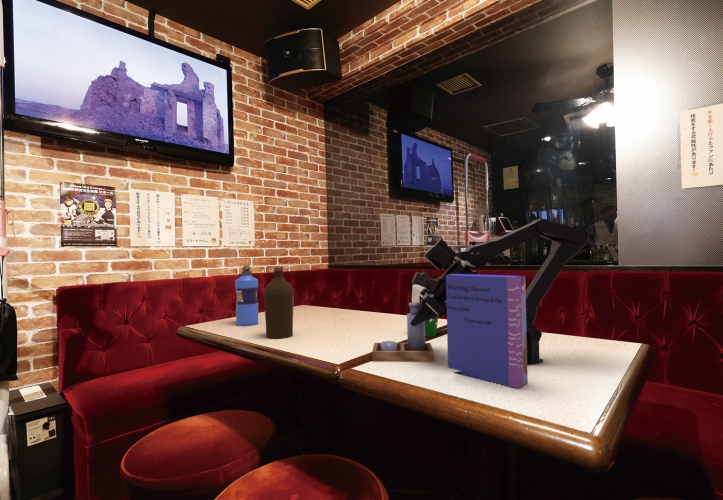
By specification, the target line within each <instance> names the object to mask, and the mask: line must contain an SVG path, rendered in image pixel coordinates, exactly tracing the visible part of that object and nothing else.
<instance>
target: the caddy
mask: <svg viewBox="0 0 723 500" xmlns="http://www.w3.org/2000/svg"><path fill="white" fill-rule="evenodd" d="M396 343H397V351H381V342H374V344H373V347H372V351H371V353H372V354H371V355H372V356H371V358H372V360H371V361H372V362H393V363H395V362H398V363H400V362H403V363H405V362H408V363H410V362H411V363H422V362H423V363H434V362H435V355H434V353H435V351H434V349H433V347H432V343H431V342H425V348H424V349H410V348H408V342H396Z"/></svg>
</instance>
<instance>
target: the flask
mask: <svg viewBox="0 0 723 500" xmlns="http://www.w3.org/2000/svg"><path fill="white" fill-rule="evenodd" d="M408 307H409V309H410V312H409V313H406V330H407V331H406V332H407V343H408V348H410V349H424V348H425V343H426V337H425V321H424V322H422V323H420V324H417V325H415V326H412V325H411V324H410V322H411V321H412V319H413V318H414V316H415V315H416V314H417V312H418V311H419V309H420V308H421V303H420V302H412V301H411V302H409V303H408Z"/></svg>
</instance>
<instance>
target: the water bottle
mask: <svg viewBox="0 0 723 500" xmlns="http://www.w3.org/2000/svg"><path fill="white" fill-rule="evenodd" d="M241 269H242V270H241V271H240V272H241V273H240V274H241V276H240V277H239V278H237V279H235V281H234V283H235V284H234V285H235V287H234V288H235V291H236V292H235V293H236V302H235V316H236V317H235V319H236V320H235V323H236V326H237V327H253V326H257V325H259V301H258V287H259V280H258V279H257V278H256V277H254V276H253V275H252V273H253V272H252V268H251V267H250V266H249V265H244V266H243V267H241Z"/></svg>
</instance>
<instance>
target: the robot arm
mask: <svg viewBox="0 0 723 500" xmlns="http://www.w3.org/2000/svg"><path fill="white" fill-rule="evenodd" d="M538 236H540V237H543V238H545V239H547V240H550V241H551V245H550V251H549V254H548V256H547V257H546V259H545V261H544V262H543V263H542V264H541V267H540V268H539V269H538V271H537V272H536V274H535V276H534V277H533V279H532V281H531V282H530V284H529V285H528V287H527V288H526V289H525V291H526V335H527V366H528V365H529V366H530V365H533V364H536V363H541V362H544V359H543V358H541V357H540V341H541V338H542V335H543V332H542V331H541V330H540V329H538V328H537V327H536V325H534V323H535V320H536V318H537V311H538V307H539V306H540V303H541V302H542V300H543V299H544V298H545V296H546V295H547V292H548V291H549V289H550V288H551V287H552V285H553V283H554V281H556V279H557V277H558V275H560V273H561V271H562V269H563V268H564V266H565V265H566V263H567V262H568V261H569V260H570V259H572V258H573V257H574V256H575V255H577V254H578V253H579V252H580V251H581V250H582V249H583V248H584V247H585V246H586V245H587V243H588V242H589V238H590V237H589V233H588V231H587V230H586V229H585V228H584V227H583V226H581V225H573V226H572V225H567V224H563V223H560V222H555V221H551V220H548V219H546V218H538V219H535V220H532V221H531V222H530V223H527V224H525V225H524V226H522V227H519V228H517V229H515V230H512V231H510V232H508V233H506V234H503V235H502V236H500V237H497V238H495V239H494V240H490V241H485V242H481V243H477V244H475V245H471V246H468V247H467V248H465V250H463V251H459V250H457V251H455V250H453V249H452V248H451V247H450V245H448V244H447V242H446V241H445V240H444V239H442V238H440V239H439V240H438V241H437V242H436V243H435V244H434V245H433V246H431V247H430V248H429V249H428V250H427V251H426V252H425V254H424V255H423V258H425V259H426V260H427V261H428V262H429V263H430V264H431V265H432V266H433V267H434V268H435V269H437V270H438V271H439V270H441V269H442V270H443V271H445V270H446V269H447V270H446V271H445V272H444V273H443V274H442V275H441V276H438V277H436V279H434V278H431V276H430V275H431V274H430V273H428V272H425V271H424V272H422V273H420V272H419V271H415V273H414V275H413V278H412V279H411V283H412V284H416V285H420V286H422V287H424V288H423V289H422V290H421V291H420V292H419V293H420V294H421V295H423V296H422V297H421V296H420V295H419V302H420V303H421V308H420V309H419V311H418V312H417V314H416V315H415V316H414V318H413V319H412V321H411V322H410V324H411V325H412V326H415V325H417V324H420V323H422V322H424V321H427V320H429V319H432V318H435V317H438V318H439V316H440V317H441V318H443V317H444V316H445V314H447V297H446V275H448V274H479V271H477V270H472V268H470V267H474V268H481V267H484V266H486V265H487V264H488V263H490V262H491V261H493V260H494V259H495V258H497V257H498V256H499V255H500V254H502V253H504V252H506V251H508V250H509V249H512V248H514V247H516V246H519V245H520V244H523V243H525V242H527V241H529V240H532V239H534V238H536V237H538ZM459 261H463V262H465V264H461V263H460V262H459ZM452 263H453V264H452ZM469 266H470V267H469ZM437 313H438V314H437Z"/></svg>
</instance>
